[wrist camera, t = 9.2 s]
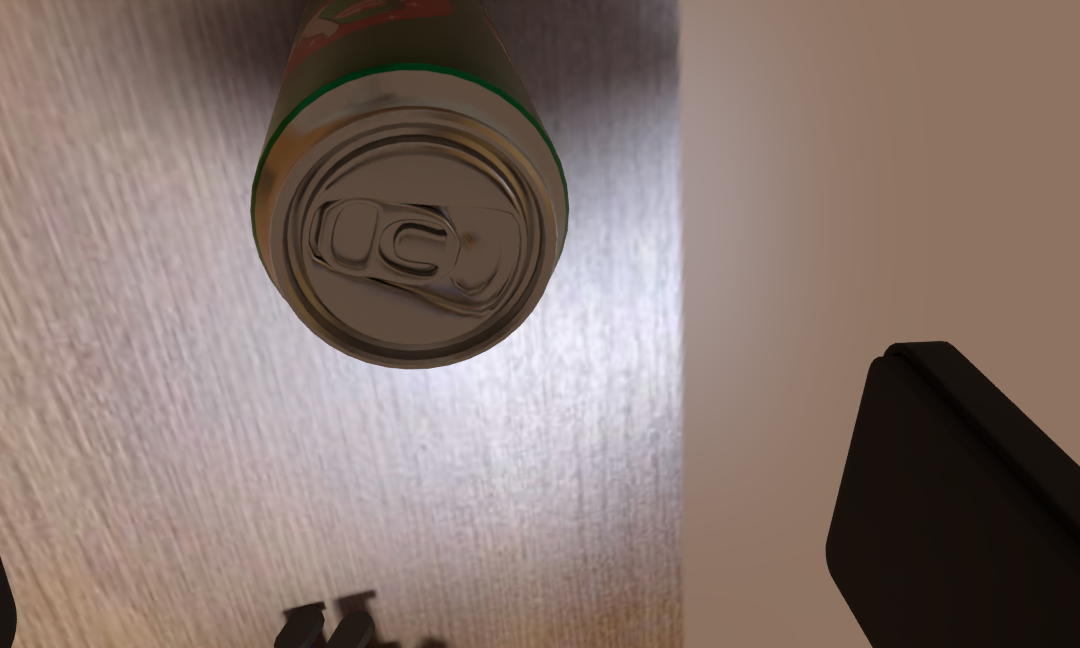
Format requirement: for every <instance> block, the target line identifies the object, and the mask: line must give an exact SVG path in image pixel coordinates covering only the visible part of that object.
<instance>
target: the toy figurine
mask: <svg viewBox="0 0 1080 648" xmlns="http://www.w3.org/2000/svg"><path fill="white" fill-rule="evenodd" d="M324 621H325V619H324V617H323V614H322V611H321V610H320V609H319V608H318V606H310V605H308V606H306V607H303V608H300V609H298V610H297V611H296V612H295V613H294V614H293V615H292V616H291V617H290V619H289V620H288V621H287V623H286V624H285V626H284V627H283V629H282V630H281V632H280V633H279V635H278V636H277V637H276V640H275V643H274V648H312V644H313V642H314V640H315V639H316V637H317V636H318V634H319V633H320V631H321V630H322V628H323V625H324ZM373 631H374V623H373V620H372V617H371V616H370V615H369V614H368V613H367V612H363V611H356V612H354V613H351V614H348V615H347V616H346V617H345V618H344V619H343V620H342V621H341V622H340V623H339V625H338V627H337V628H336V630H335V631H334V633H333V635H332V636H331V638H330V639H329V641H328V643H327V644H326V648H365V647H366V645H367V643H368V641H369V640H370V638H371V636H372V635H373Z"/></svg>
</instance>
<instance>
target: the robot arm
mask: <svg viewBox="0 0 1080 648" xmlns="http://www.w3.org/2000/svg"><path fill="white" fill-rule="evenodd" d="M826 560H827V565H828V569H829V572H830V574H831V576H832V578H833V580H834V582H835V584H836V585H837V587H838V589H839V590H840V592H841V594H842V596H843V597H844V599H845V601H846V602H847V604H848V606H849V608H850V609H851V611H852V613H853V615H854V616H855V618H856V619H857V621H858V623H859V625H860V627H861V628H862V630H863V632H864V633H865V635H866V637H867V638H868V640H869V642H870V644H871V645H872V647H873V648H1080V466H1079V465H1078V464H1077V463H1075V462H1074V461H1073V460H1072V459H1071V458H1070V457H1069V456H1068V455H1067V454H1066V453H1065V452H1064V451H1063V450H1062V449H1061V448H1060V447H1059V446H1058V445H1057V444H1056V443H1055V442H1053V441H1052V440H1051V439H1050V438H1049V437H1048V436H1047V435H1046V434H1045V433H1044V432H1043V431H1042V430H1041V429H1040V428H1039V427H1038V426H1037V425H1036V424H1035V423H1033V421H1032V420H1031V419H1029V418H1028V417H1027V416H1026V415H1025V414H1024V413H1023V412H1022V411H1021V410H1020V409H1019V408H1018V407H1017V406H1016V405H1015V404H1014V403H1013V402H1011V400H1010V399H1008V398H1007V397H1006V396H1005V395H1004V394H1003V393H1002V392H1001V391H1000V390H999V389H998V388H997V387H995V385H994V384H993V383H992V382H991V381H990V380H989V379H988V378H987V377H986V376H984V375H983V374H982V373H981V372H980V371H979V370H978V369H977V368H976V367H975V366H974V365H973V364H972V363H970V361H969V360H968V359H967V358H966V357H965V356H963V355H962V354H961V353H960V352H959V351H958V350H957V349H956V348H955V347H954V346H953V345H951V344H950V343H948V342H944V341H933V342H909V343H895V344H893V345H891V346H889V348H888V349H887V350H886V351H885V353H884V356H883V357H878V358H876V359H874V360H873V362H872V363H871V365H870V368H869V371H868V375H867V379H866V383H865V387H864V391H863V395H862V399H861V403H860V407H859V412H858V415H857V419H856V423H855V427H854V431H853V436H852V440H851V444H850V448H849V452H848V456H847V460H846V464H845V468H844V472H843V476H842V480H841V485H840V489H839V493H838V496H837V501H836V505H835V509H834V513H833V517H832V521H831V525H830V529H829V533H828V537H827V542H826ZM16 623H17V614H16V606H15V602H14V599H13V595H12V592H11V589H10V586H9V583H8V579H7V576H6V573H5V570H4V567H3V563H2V560H1V557H0V648H11V646H12V643H13V640H14V637H15V632H16Z"/></svg>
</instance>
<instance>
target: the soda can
mask: <svg viewBox="0 0 1080 648" xmlns="http://www.w3.org/2000/svg"><path fill="white" fill-rule="evenodd" d="M250 212H251V222H252V231H253V237H254V240H255V244H256V247H257V251H258V254H259V258H260V260H261V262H262V264H263V266H264V268H265V270H266V272H267V274H268V276H269V278H270V280H271V281H272V283H273V284H274V286H275V287H276V288H277V290H278V291H279V293H280V294H281V296H282V297H283V298H284V299H285V300H286V301H287V302H288V304H289V305H290V307H291V308H292V309H293V311H294V312H295V314H296V315H297V317H298V318H299V319H300V320H301V321H302V322H303V323H304V324H305V325H306V326H307V327H308V328H309V329H310V330H311V331H312V332H313V333H314V334H315V335H317V336H318V337H319V338H320V339H322V340H323V341H324V342H326V343H327V344H328V345H330V346H332V347H333V348H335V349H337V350H339V351H341V352H342V353H344V354H346V355H348V356H351V357H353V358H356V359H359V360H361V361H364V362H366V363H371V364H375V365H379V366H383V367H389V368H399V369H429V368H435V367H441V366H447V365H451V364H454V363H458V362H461V361H464V360H467V359H470V358H472V357H474V356H476V355H479V354H481V353H483V352H485V351H487V350H489V349H490V348H492V347H493V346H495V345H497V344H498V343H500V342H501V341H503V340H504V339H506V338H507V337H508V336H509V335H510V334H511V333H512V332H514V331H515V330H516V329H517V328H518V327H519V326H520V325H521V324H522V323H523V322H524V321H525V319H526V318H527V317H528V316H529V315H530V314H531V312H532V311H533V310H534V308H535V307H536V305H537V303H538V302H539V300H540V299H541V297H542V295H543V293H544V291H545V289H546V286H547V284H548V282H549V279H550V277H551V276H552V274H553V272H554V270H555V268H556V265H557V263H558V261H559V258H560V256H561V254H562V251H563V247H564V243H565V239H566V234H567V230H568V217H569V201H568V190H567V183H566V179H565V176H564V172H563V168H562V164H561V161H560V159H559V157H558V155H557V153H556V151H555V148H554V146H553V144H552V142H551V140H550V138H549V136H548V134H547V132H546V130H545V128H544V126H543V124H542V122H541V120H540V118H539V116H538V114H537V112H536V110H535V108H534V106H533V104H532V102H531V100H530V98H529V96H528V94H527V92H526V90H525V88H524V86H523V84H522V82H521V80H520V78H519V76H518V74H517V72H516V70H515V68H514V66H513V64H512V62H511V60H510V58H509V56H508V54H507V52H506V50H505V48H504V46H503V44H502V42H501V40H500V38H499V36H498V34H497V32H496V30H495V28H494V26H493V24H492V22H491V20H490V18H489V16H488V14H487V12H486V10H485V8H484V6H483V5H482V3H481V2H480V0H309V2H308V4H307V6H306V8H305V10H304V13H303V15H302V17H301V20H300V23H299V27H298V30H297V34H296V37H295V40H294V44H293V47H292V50H291V54H290V57H289V61H288V64H287V67H286V71H285V74H284V77H283V81H282V84H281V88H280V91H279V94H278V98H277V101H276V104H275V108H274V111H273V115H272V118H271V121H270V125H269V128H268V131H267V135H266V138H265V142H264V145H263V148H262V152H261V155H260V158H259V162H258V166H257V169H256V173H255V177H254V181H253V185H252V195H251V209H250Z"/></svg>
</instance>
